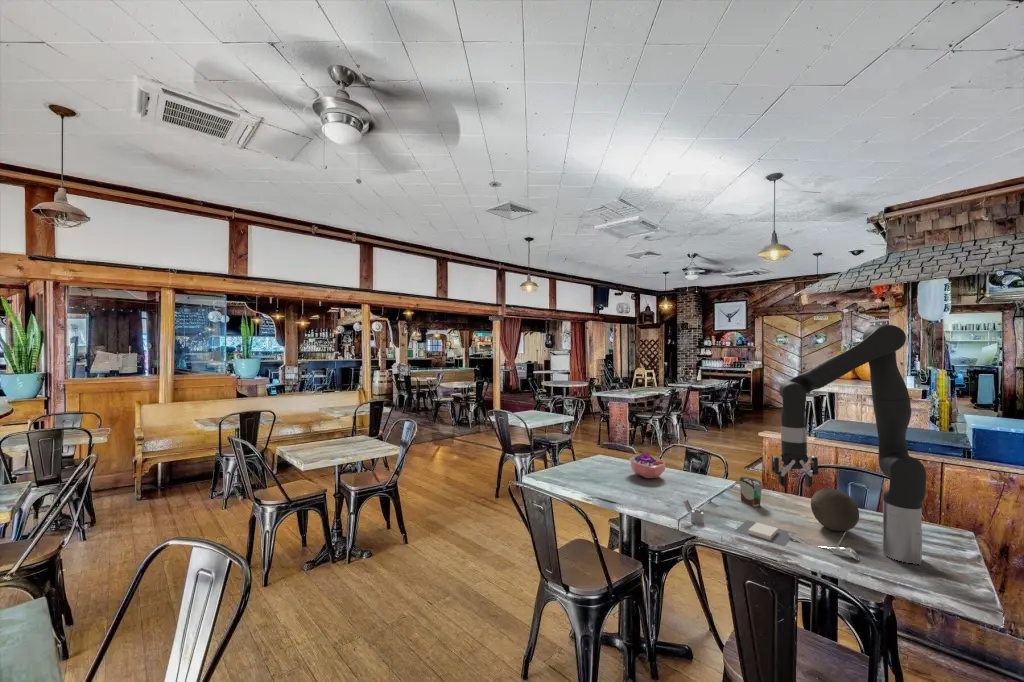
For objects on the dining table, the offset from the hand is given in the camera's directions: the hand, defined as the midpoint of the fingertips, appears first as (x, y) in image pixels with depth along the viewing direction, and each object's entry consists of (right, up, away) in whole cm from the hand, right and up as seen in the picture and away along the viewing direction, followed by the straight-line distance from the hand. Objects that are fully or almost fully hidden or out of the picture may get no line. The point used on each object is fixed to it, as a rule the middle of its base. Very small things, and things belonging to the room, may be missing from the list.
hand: (795, 486), depth 151 cm
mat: (-7, -19, +6) cm, 21 cm away
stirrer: (+5, -19, -6) cm, 21 cm away
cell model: (-30, -19, +70) cm, 79 cm away
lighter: (-29, -19, +15) cm, 38 cm away
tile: (-5, -18, +8) cm, 20 cm away
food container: (+4, -19, +34) cm, 39 cm away
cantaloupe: (+19, -19, +8) cm, 29 cm away
